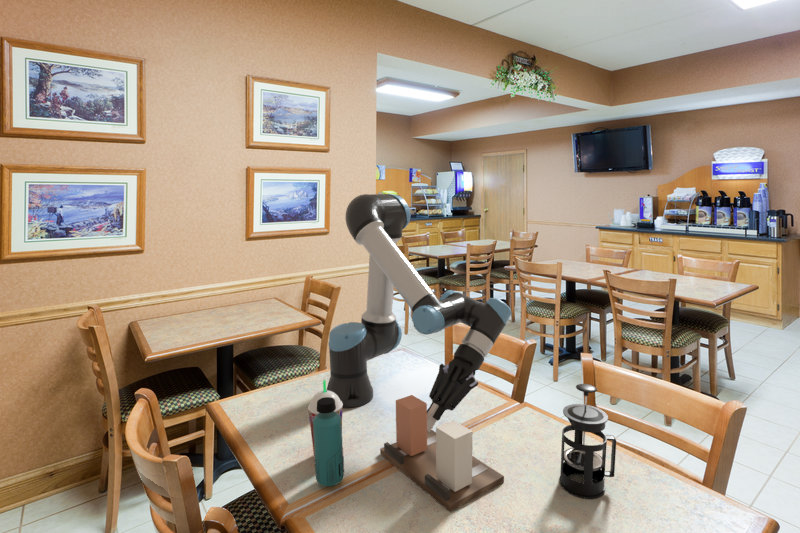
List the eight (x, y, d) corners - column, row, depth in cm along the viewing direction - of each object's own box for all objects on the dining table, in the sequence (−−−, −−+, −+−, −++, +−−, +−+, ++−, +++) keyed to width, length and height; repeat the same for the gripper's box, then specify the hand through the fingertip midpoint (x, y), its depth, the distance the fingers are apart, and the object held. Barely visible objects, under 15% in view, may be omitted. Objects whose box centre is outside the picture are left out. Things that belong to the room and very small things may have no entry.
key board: (429, 433, 121) (429, 421, 120) (503, 482, 100) (504, 467, 99) (380, 454, 112) (380, 441, 111) (450, 512, 91) (450, 496, 90)
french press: (560, 497, 95) (564, 394, 91) (552, 470, 104) (555, 376, 100) (619, 501, 93) (626, 397, 89) (605, 474, 102) (611, 378, 99)
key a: (453, 469, 102) (453, 420, 100) (472, 482, 97) (472, 431, 95) (436, 477, 99) (436, 427, 97) (454, 492, 94) (454, 438, 92)
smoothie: (350, 451, 113) (347, 376, 110) (335, 470, 106) (331, 389, 102) (321, 445, 116) (317, 372, 113) (304, 463, 108) (299, 385, 105)
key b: (412, 439, 115) (411, 394, 113) (427, 449, 110) (426, 403, 108) (396, 445, 112) (395, 400, 110) (410, 456, 107) (410, 409, 105)
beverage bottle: (342, 493, 97) (339, 406, 94) (312, 493, 97) (307, 407, 94) (346, 474, 104) (343, 393, 101) (318, 474, 104) (314, 393, 101)
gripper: (498, 365, 116) (450, 446, 109) (463, 351, 126) (417, 425, 119) (483, 349, 112) (433, 433, 105) (449, 337, 122) (400, 412, 115)
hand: (424, 428), depth 112 cm, fingers closed
